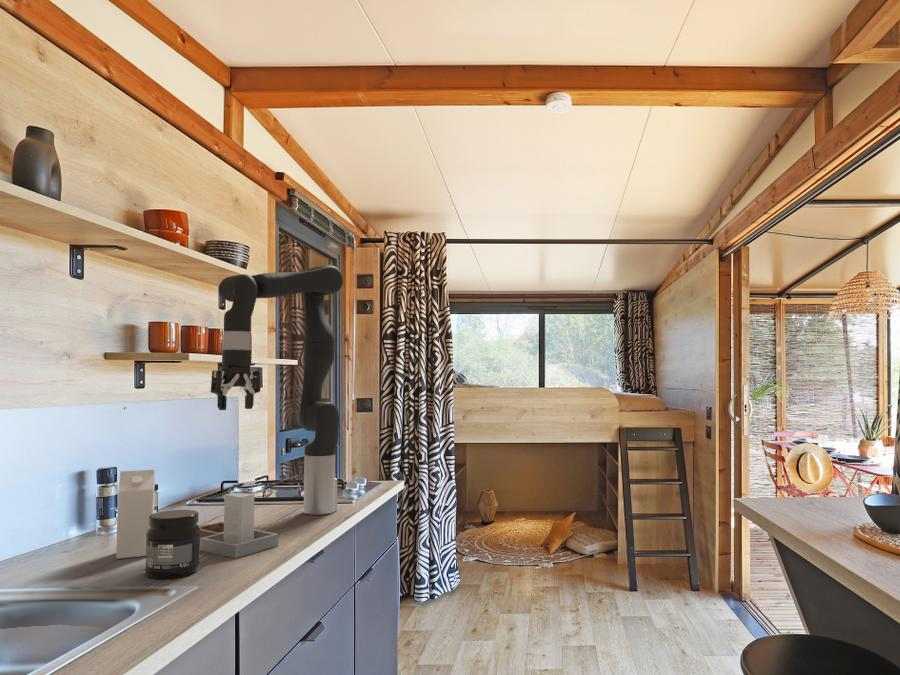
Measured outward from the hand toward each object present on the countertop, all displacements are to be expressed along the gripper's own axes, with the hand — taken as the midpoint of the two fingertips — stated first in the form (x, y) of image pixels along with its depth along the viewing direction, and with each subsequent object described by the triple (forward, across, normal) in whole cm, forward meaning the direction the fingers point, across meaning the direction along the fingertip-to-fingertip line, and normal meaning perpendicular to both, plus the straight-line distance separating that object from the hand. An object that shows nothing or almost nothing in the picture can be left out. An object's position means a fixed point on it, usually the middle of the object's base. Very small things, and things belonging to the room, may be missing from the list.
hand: (235, 409), depth 168 cm
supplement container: (+32, -30, -18) cm, 48 cm away
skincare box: (+32, -10, -14) cm, 36 cm away
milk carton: (+32, -26, +2) cm, 42 cm away
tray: (+32, -10, -14) cm, 37 cm away
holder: (+32, -6, -2) cm, 33 cm away
